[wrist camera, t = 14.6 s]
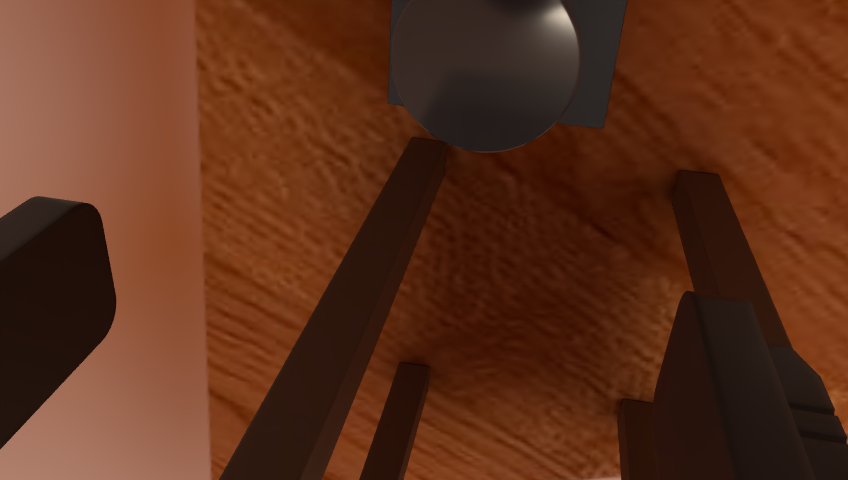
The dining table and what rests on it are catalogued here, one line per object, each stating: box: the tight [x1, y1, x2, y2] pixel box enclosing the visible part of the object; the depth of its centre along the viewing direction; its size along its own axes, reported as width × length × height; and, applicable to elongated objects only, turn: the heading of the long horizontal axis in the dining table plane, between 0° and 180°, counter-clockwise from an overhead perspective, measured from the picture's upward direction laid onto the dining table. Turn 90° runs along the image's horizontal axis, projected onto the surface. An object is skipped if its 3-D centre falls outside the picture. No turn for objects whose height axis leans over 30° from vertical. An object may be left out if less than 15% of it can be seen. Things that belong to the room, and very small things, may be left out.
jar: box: [391, 0, 582, 153], centre depth 25 cm, size 6×6×8 cm
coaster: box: [388, 0, 627, 128], centre depth 28 cm, size 9×9×1 cm
